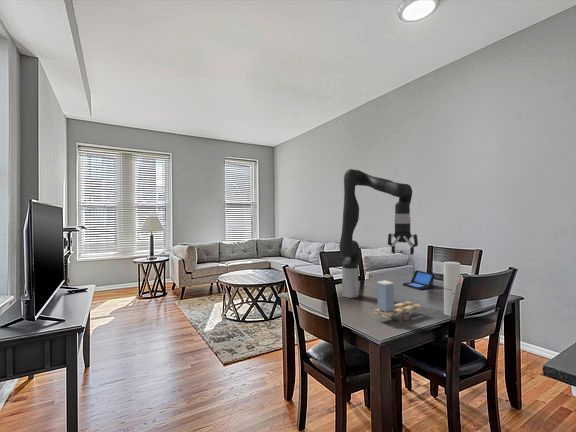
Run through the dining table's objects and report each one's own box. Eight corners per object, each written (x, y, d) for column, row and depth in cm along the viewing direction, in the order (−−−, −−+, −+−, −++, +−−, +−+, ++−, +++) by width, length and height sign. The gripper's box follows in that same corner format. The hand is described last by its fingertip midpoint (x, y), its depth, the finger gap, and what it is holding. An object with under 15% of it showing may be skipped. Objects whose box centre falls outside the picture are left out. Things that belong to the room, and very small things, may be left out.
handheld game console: (401, 285, 205) (401, 272, 205) (415, 283, 211) (415, 270, 211) (421, 290, 191) (420, 276, 191) (435, 288, 197) (435, 274, 197)
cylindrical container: (445, 310, 153) (445, 261, 152) (461, 313, 148) (461, 262, 148) (442, 314, 147) (441, 263, 147) (459, 317, 143) (458, 264, 142)
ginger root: (386, 325, 134) (386, 314, 134) (373, 320, 141) (372, 309, 141) (421, 315, 146) (421, 305, 146) (407, 310, 153) (407, 300, 153)
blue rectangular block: (386, 315, 136) (385, 284, 136) (377, 312, 141) (377, 281, 141) (394, 313, 139) (393, 282, 139) (385, 310, 143) (384, 280, 143)
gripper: (386, 222, 156) (386, 254, 156) (416, 223, 148) (416, 256, 149) (389, 222, 162) (390, 252, 163) (418, 222, 155) (418, 254, 155)
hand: (402, 254), depth 156 cm, fingers open, 8 cm apart
